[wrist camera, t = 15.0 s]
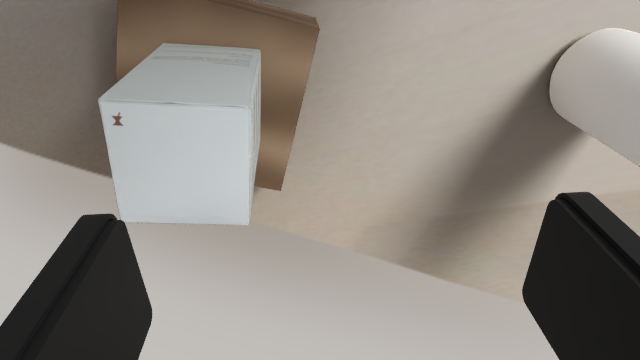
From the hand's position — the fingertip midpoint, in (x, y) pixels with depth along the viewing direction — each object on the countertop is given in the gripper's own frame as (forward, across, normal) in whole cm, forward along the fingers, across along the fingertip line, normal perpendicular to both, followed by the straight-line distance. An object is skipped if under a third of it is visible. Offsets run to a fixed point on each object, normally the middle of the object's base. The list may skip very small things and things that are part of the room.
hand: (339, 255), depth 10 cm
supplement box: (+25, +7, +5) cm, 26 cm away
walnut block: (+31, +8, +5) cm, 32 cm away
